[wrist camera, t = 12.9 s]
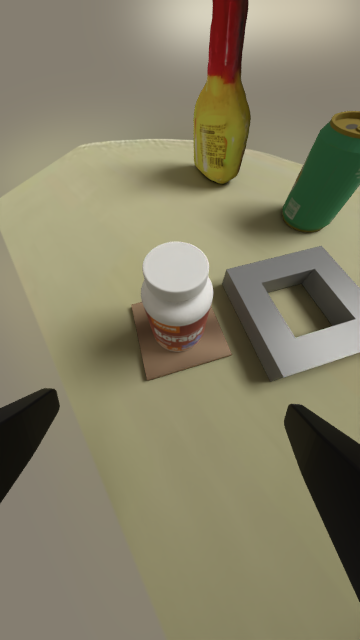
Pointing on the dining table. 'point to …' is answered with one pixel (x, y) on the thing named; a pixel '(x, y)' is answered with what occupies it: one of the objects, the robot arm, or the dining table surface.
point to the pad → (169, 362)
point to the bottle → (223, 97)
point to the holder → (271, 329)
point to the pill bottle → (176, 294)
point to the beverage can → (326, 175)
